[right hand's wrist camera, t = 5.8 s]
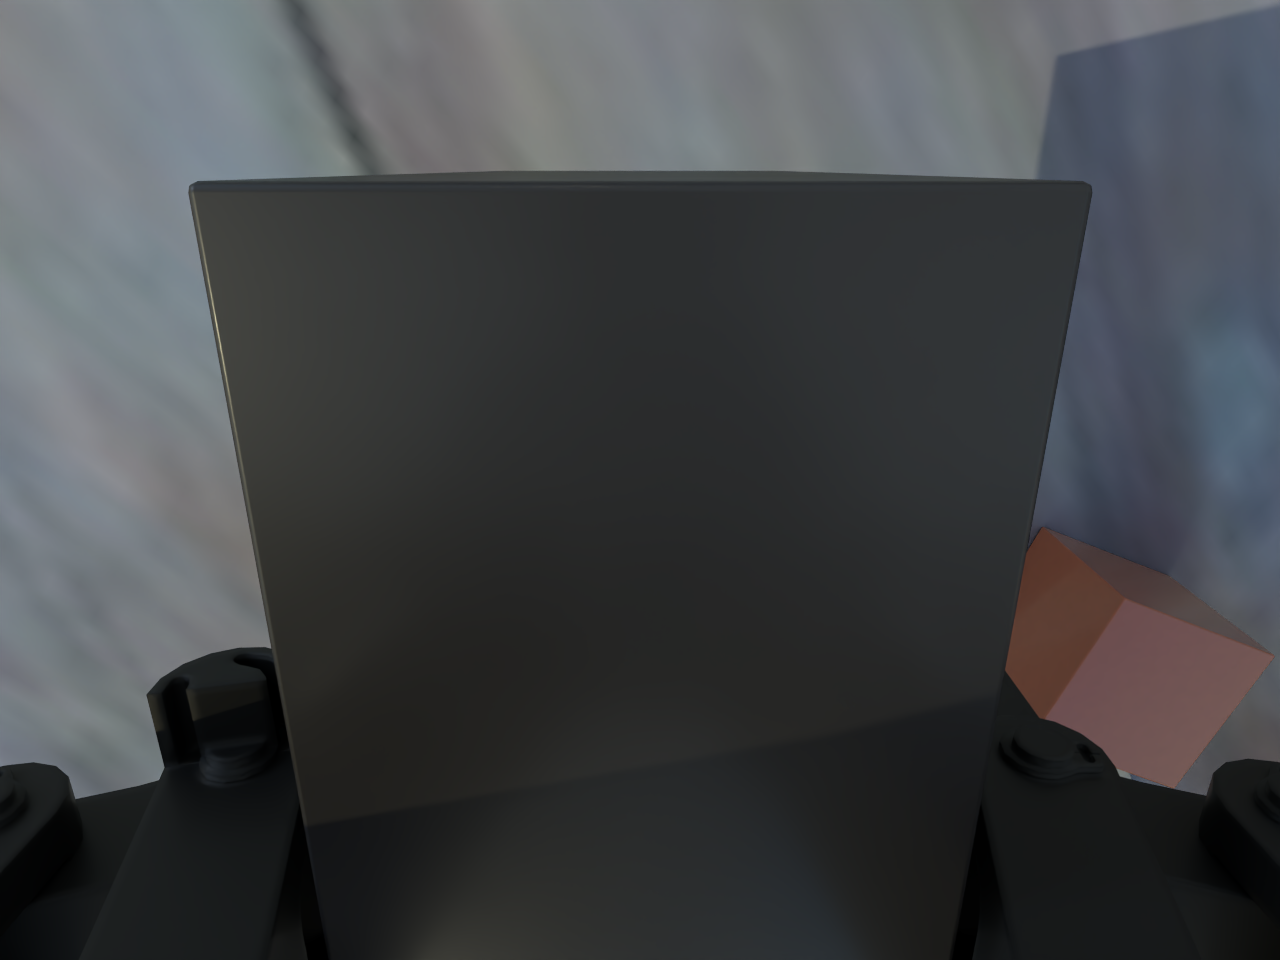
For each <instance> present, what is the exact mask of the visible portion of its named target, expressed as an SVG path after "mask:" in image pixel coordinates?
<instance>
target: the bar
mask: <svg viewBox="0 0 1280 960" xmlns="http://www.w3.org/2000/svg"><path fill="white" fill-rule="evenodd" d="M1091 197H1092V188H1091V185H1090V184H1088V183H1086V182H1083V181H1063V180H1033V179H1003V178H973V177H943V176H913V175H883V174H853V173H823V172H793V171H488V172H458V173H428V174H398V175H368V176H338V177H308V178H278V179H248V180H218V181H197V182H195V183H193V184H191V185H190V186H189V198H190V204H191V209H192V215H193V220H194V226H195V231H196V237H197V242H198V248H199V253H200V259H201V264H202V270H203V275H204V281H205V286H206V292H207V297H208V303H209V308H210V314H211V319H212V325H213V330H214V335H215V341H216V346H217V352H218V357H219V363H220V368H221V374H222V379H223V385H224V390H225V396H226V401H227V407H228V412H229V418H230V423H231V429H232V434H233V440H234V445H235V451H236V456H237V462H238V467H239V473H240V478H241V484H242V489H243V494H244V500H245V505H246V511H247V516H248V522H249V527H250V533H251V538H252V544H253V549H254V555H255V560H256V566H257V571H258V577H259V582H260V588H261V593H262V599H263V604H264V610H265V615H266V621H267V626H268V632H269V637H270V643H271V648H272V653H273V659H274V664H275V670H276V675H277V681H278V686H279V692H280V697H281V703H282V708H283V714H284V719H285V725H286V730H287V736H288V741H289V747H290V752H291V758H292V763H293V769H294V774H295V780H296V785H297V791H298V796H299V802H300V807H301V812H302V818H303V823H304V829H305V834H306V840H307V845H308V851H309V856H310V862H311V867H312V873H313V878H314V884H315V889H316V895H317V900H318V906H319V911H320V917H321V922H322V928H323V933H324V939H325V944H326V950H327V955H328V960H952V958H953V952H954V947H955V941H956V936H957V930H958V925H959V919H960V914H961V908H962V903H963V897H964V892H965V886H966V881H967V875H968V870H969V865H970V859H971V854H972V848H973V843H974V837H975V832H976V826H977V821H978V815H979V810H980V804H981V799H982V793H983V788H984V782H985V777H986V771H987V766H988V761H989V755H990V750H991V744H992V739H993V733H994V728H995V722H996V717H997V711H998V706H999V700H1000V695H1001V689H1002V684H1003V678H1004V673H1005V667H1006V662H1007V657H1008V651H1009V646H1010V640H1011V635H1012V629H1013V624H1014V618H1015V613H1016V607H1017V602H1018V596H1019V591H1020V585H1021V580H1022V574H1023V569H1024V563H1025V558H1026V553H1027V547H1028V542H1029V536H1030V531H1031V525H1032V520H1033V514H1034V509H1035V503H1036V498H1037V492H1038V487H1039V481H1040V476H1041V470H1042V465H1043V459H1044V454H1045V449H1046V443H1047V438H1048V432H1049V427H1050V421H1051V416H1052V410H1053V405H1054V399H1055V394H1056V388H1057V383H1058V377H1059V372H1060V366H1061V361H1062V355H1063V350H1064V345H1065V339H1066V334H1067V328H1068V323H1069V317H1070V312H1071V306H1072V301H1073V295H1074V290H1075V284H1076V279H1077V273H1078V268H1079V262H1080V257H1081V251H1082V246H1083V241H1084V235H1085V230H1086V224H1087V219H1088V213H1089V208H1090V202H1091Z"/></svg>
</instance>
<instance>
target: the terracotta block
mask: <svg viewBox="0 0 1280 960" xmlns="http://www.w3.org/2000/svg"><path fill="white" fill-rule="evenodd" d="M1274 657H1275V656H1274V655H1273V654H1272V653H1271V652H1269V651H1268V650H1267V649H1265V648H1264V647H1263V646H1261V645H1260V644H1259V643H1257V642H1256V641H1255V640H1253V639H1252V638H1251V637H1249V636H1248V635H1247V634H1245V633H1244V632H1243V631H1241V630H1240V629H1239V628H1238V627H1236V626H1235V625H1234V624H1232V623H1231V622H1230V621H1228V620H1227V619H1226V618H1224V617H1223V616H1222V615H1220V614H1219V613H1218V612H1216V611H1215V610H1214V609H1212V608H1211V607H1210V606H1208V605H1207V604H1206V603H1204V602H1203V601H1202V600H1200V599H1199V598H1198V597H1196V596H1195V595H1194V594H1193V593H1191V592H1190V591H1189V590H1187V589H1186V588H1185V587H1183V586H1182V585H1181V584H1179V583H1178V582H1177V581H1175V580H1174V579H1173V578H1171V577H1170V576H1168V575H1165V574H1163V573H1160V572H1158V571H1155V570H1152V569H1150V568H1147V567H1145V566H1142V565H1140V564H1137V563H1135V562H1132V561H1129V560H1127V559H1124V558H1122V557H1119V556H1117V555H1114V554H1111V553H1109V552H1106V551H1104V550H1101V549H1099V548H1096V547H1094V546H1091V545H1088V544H1086V543H1083V542H1081V541H1078V540H1076V539H1073V538H1070V537H1068V536H1065V535H1063V534H1060V533H1058V532H1055V531H1052V530H1050V529H1047V528H1045V527H1042V528H1041V530H1040V531H1039V533H1038V534H1037V536H1036V538H1035V539H1034V541H1033V543H1032V544H1031V546H1030V548H1029V549H1028V551H1027V553H1026V558H1025V563H1024V569H1023V574H1022V580H1021V585H1020V591H1019V596H1018V602H1017V607H1016V613H1015V618H1014V624H1013V629H1012V635H1011V640H1010V646H1009V651H1008V657H1007V662H1006V667H1005V671H1006V672H1007V674H1008V675H1009V677H1010V678H1011V679H1012V681H1013V682H1014V683H1015V685H1016V686H1017V688H1018V689H1019V690H1020V692H1021V693H1022V695H1023V696H1024V697H1025V699H1026V700H1027V701H1028V703H1029V704H1030V706H1031V707H1032V708H1033V710H1034V711H1035V712H1036V714H1037V715H1038V717H1039V718H1042V719H1046V720H1050V721H1054V722H1057V723H1059V724H1061V725H1064V726H1066V727H1068V728H1070V729H1072V730H1075V731H1077V732H1079V733H1081V734H1083V735H1084V736H1085V737H1087V738H1088V739H1089V740H1091V741H1092V742H1094V743H1095V744H1096V745H1098V746H1099V747H1100V748H1102V749H1103V751H1104V752H1105V753H1106V755H1107V756H1108V757H1109V759H1110V760H1111V761H1112V763H1113V764H1114V765H1115V767H1116V769H1119V770H1122V771H1125V772H1128V773H1131V774H1133V775H1136V776H1139V777H1142V778H1145V779H1148V780H1151V781H1153V782H1156V783H1159V784H1162V785H1165V786H1168V787H1170V788H1175V787H1176V786H1177V784H1178V783H1179V782H1180V780H1181V779H1182V778H1183V776H1184V775H1185V774H1186V772H1187V771H1188V770H1189V769H1190V767H1191V766H1192V765H1193V763H1194V762H1195V761H1196V759H1197V758H1198V757H1199V755H1200V754H1201V753H1202V751H1203V750H1204V749H1205V748H1206V746H1207V745H1208V744H1209V742H1210V741H1211V740H1212V738H1213V737H1214V736H1215V734H1216V733H1217V732H1218V731H1219V729H1220V728H1221V727H1222V725H1223V724H1224V723H1225V721H1226V720H1227V719H1228V717H1229V716H1230V715H1231V713H1232V712H1233V711H1234V710H1235V708H1236V707H1237V706H1238V704H1239V703H1240V702H1241V700H1242V699H1243V698H1244V696H1245V695H1246V694H1247V692H1248V691H1249V690H1250V689H1251V687H1252V686H1253V685H1254V683H1255V682H1256V681H1257V679H1258V678H1259V677H1260V675H1261V674H1262V673H1263V672H1264V670H1265V669H1266V668H1267V666H1268V665H1269V664H1270V662H1271V661H1272V660H1273V658H1274Z"/></svg>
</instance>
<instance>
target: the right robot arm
mask: <svg viewBox="0 0 1280 960" xmlns="http://www.w3.org/2000/svg"><path fill="white" fill-rule="evenodd" d="M147 699H148V703H149V707H150V711H151V715H152V719H153V723H154V727H155V731H156V735H157V739H158V743H159V747H160V751H161V755H162V759H163V763H164V767H165V768H164V770H163V773H162V775H161V777H160V779H159V780H158V781H155V782H151V783H148V784H144V785H140V786H136V787H131V788H127V789H122V790H117V791H113V792H108V793H103V794H98V795H94V796H89V797H84V798H79V799H75V797H74V793H73V790H72V787H71V783H70V780H69V777H68V776H67V775H66V774H65V773H64V772H62V771H61V770H60V769H59V768H58V767H56V766H52V765H46V764H40V763H34V762H33V763H24V764H15V765H6V766H1V767H0V960H328V955H327V950H326V944H325V939H324V933H323V928H322V922H321V917H320V911H319V906H318V900H317V895H316V889H315V884H314V878H313V873H312V867H311V862H310V856H309V851H308V845H307V840H306V834H305V829H304V823H303V818H302V812H301V807H300V802H299V796H298V791H297V785H296V780H295V774H294V769H293V763H292V758H291V752H290V747H289V741H288V736H287V730H286V725H285V719H284V714H283V708H282V703H281V697H280V692H279V686H278V681H277V675H276V670H275V664H274V659H273V653H272V649H270V648H266V647H255V648H236V649H231V650H226V651H221V652H216V653H211V654H208V655H206V656H203V657H201V658H198V659H196V660H193V661H190V662H188V663H185V664H183V665H181V666H180V667H178V668H177V669H175V670H173V671H172V672H170V673H169V674H167V675H165V676H164V677H162V678H161V679H160V680H159V681H158V682H157V683H156V684H155V686H154V687H153V688H152V689H151V690H150V691H149V692H148V694H147ZM952 960H1280V763H1279V762H1272V761H1263V760H1254V759H1244V760H1238V761H1232V762H1226V763H1225V764H1223V765H1222V766H1221V767H1220V768H1219V769H1217V770H1216V771H1215V772H1214V773H1213V776H1212V779H1211V783H1210V786H1209V789H1208V792H1207V796H1204V795H1200V794H1195V793H1190V792H1185V791H1181V790H1176V789H1171V788H1166V787H1162V786H1157V785H1152V784H1147V783H1143V782H1139V781H1135V780H1132V779H1128V778H1124V777H1121V776H1119V773H1118V771H1117V769H1116V767H1115V765H1114V764H1113V763H1112V761H1111V760H1110V759H1109V757H1108V756H1107V755H1106V753H1105V752H1104V751H1103V749H1102V748H1100V747H1099V746H1098V745H1096V744H1095V743H1094V742H1092V741H1091V740H1089V739H1088V738H1087V737H1085V736H1084V735H1083V734H1081V733H1079V732H1077V731H1075V730H1072V729H1070V728H1068V727H1066V726H1064V725H1061V724H1059V723H1057V722H1054V721H1050V720H1046V719H1042V718H1039V717H1038V715H1037V714H1036V712H1035V711H1034V710H1033V708H1032V707H1031V706H1030V704H1029V703H1028V701H1027V700H1026V699H1025V697H1024V696H1023V695H1022V693H1021V692H1020V690H1019V689H1018V688H1017V686H1016V685H1015V683H1014V682H1013V681H1012V679H1011V678H1010V677H1009V675H1008V674H1007V672H1006V671H1005V673H1004V678H1003V684H1002V689H1001V695H1000V700H999V706H998V711H997V717H996V722H995V728H994V733H993V739H992V744H991V750H990V755H989V761H988V766H987V771H986V777H985V782H984V788H983V793H982V799H981V804H980V810H979V815H978V821H977V826H976V832H975V837H974V843H973V848H972V854H971V859H970V865H969V870H968V875H967V881H966V886H965V892H964V897H963V903H962V908H961V914H960V919H959V925H958V930H957V936H956V941H955V947H954V952H953V958H952Z"/></svg>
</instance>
